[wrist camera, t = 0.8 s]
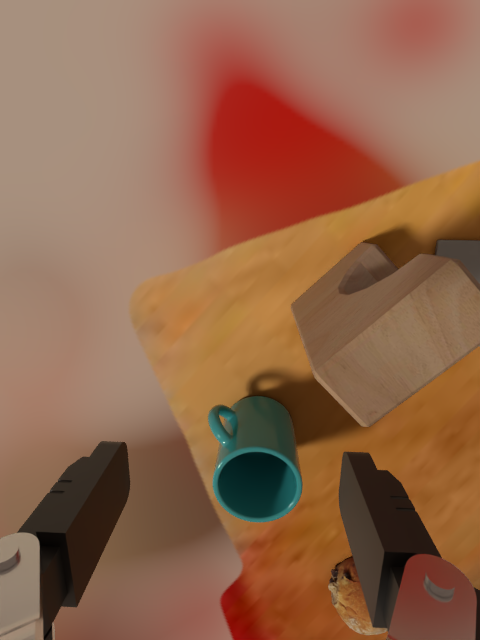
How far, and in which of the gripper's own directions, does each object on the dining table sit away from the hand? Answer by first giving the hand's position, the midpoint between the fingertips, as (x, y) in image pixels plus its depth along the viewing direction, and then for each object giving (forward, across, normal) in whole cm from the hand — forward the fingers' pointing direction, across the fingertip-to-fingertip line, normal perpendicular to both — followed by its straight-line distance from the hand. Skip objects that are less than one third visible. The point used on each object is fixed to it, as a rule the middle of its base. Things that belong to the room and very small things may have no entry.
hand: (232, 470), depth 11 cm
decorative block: (+31, -10, 0) cm, 33 cm away
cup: (+31, 0, +17) cm, 36 cm away
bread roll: (+31, -17, +43) cm, 56 cm away
